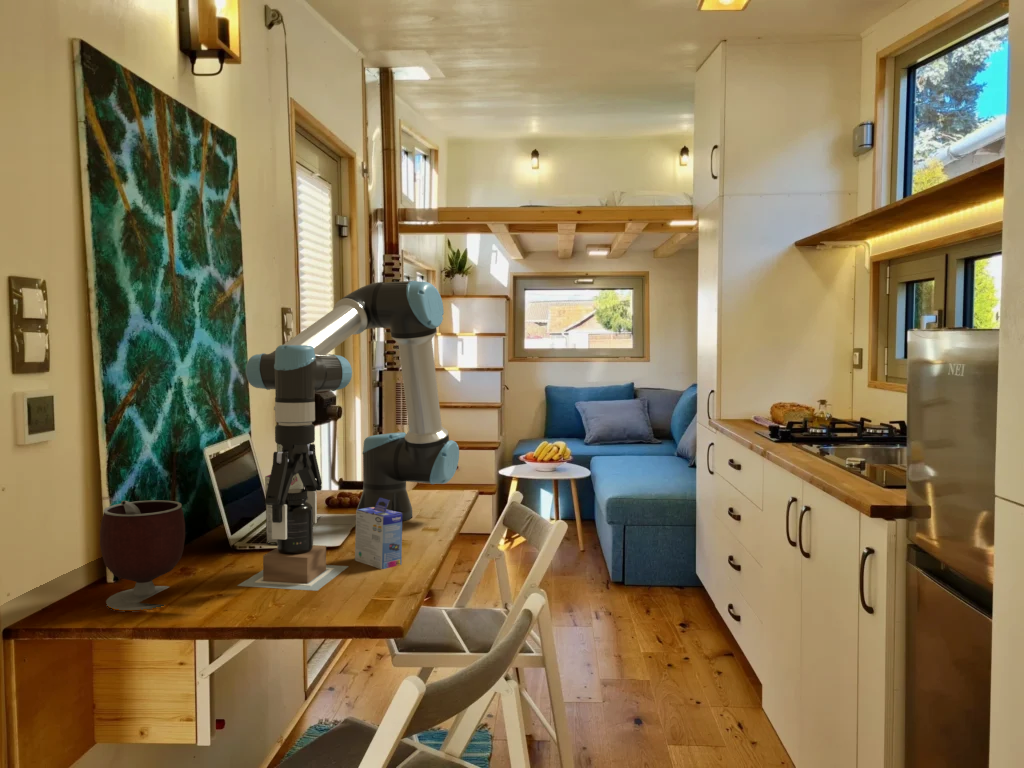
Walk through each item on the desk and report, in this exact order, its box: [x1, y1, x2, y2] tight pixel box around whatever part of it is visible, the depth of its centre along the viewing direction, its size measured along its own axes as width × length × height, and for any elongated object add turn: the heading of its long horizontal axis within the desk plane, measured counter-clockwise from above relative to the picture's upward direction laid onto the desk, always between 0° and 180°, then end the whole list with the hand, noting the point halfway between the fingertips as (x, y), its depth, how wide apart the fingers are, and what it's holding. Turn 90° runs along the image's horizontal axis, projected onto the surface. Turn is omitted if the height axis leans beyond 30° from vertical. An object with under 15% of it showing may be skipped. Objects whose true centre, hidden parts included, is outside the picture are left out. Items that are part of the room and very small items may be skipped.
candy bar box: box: [264, 472, 305, 542], centre depth 181 cm, size 11×5×16 cm, turn 170°
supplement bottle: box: [276, 488, 314, 555], centre depth 148 cm, size 7×7×12 cm
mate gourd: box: [99, 499, 186, 610], centre depth 136 cm, size 16×14×20 cm
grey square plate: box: [236, 564, 349, 592], centre depth 148 cm, size 16×16×1 cm
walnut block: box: [262, 544, 327, 584], centre depth 148 cm, size 9×9×5 cm
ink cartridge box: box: [354, 498, 403, 570], centre depth 158 cm, size 10×6×14 cm, turn 47°
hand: (295, 530), depth 148 cm, fingers open, 13 cm apart
